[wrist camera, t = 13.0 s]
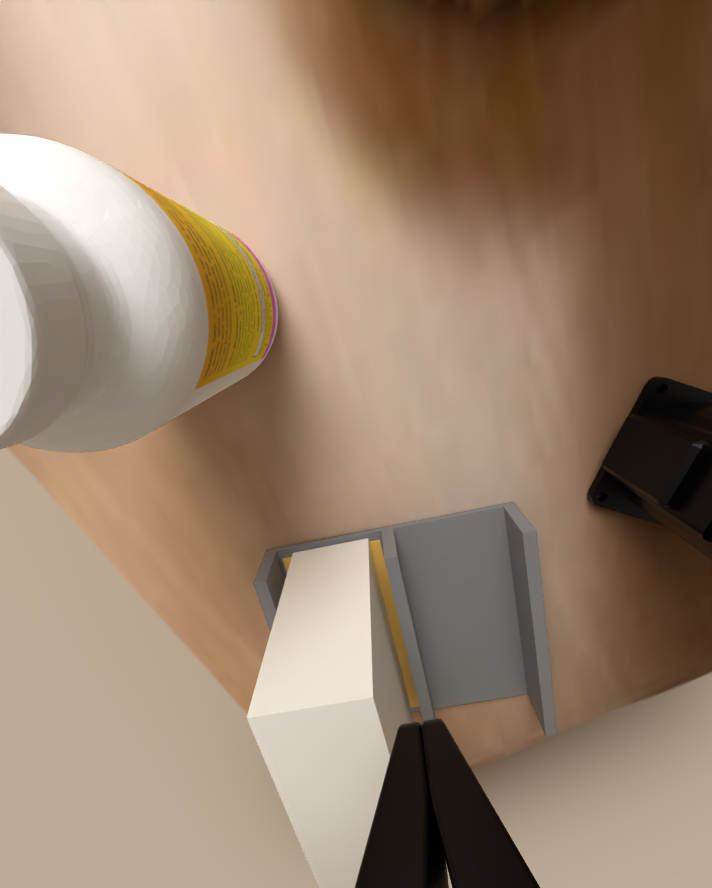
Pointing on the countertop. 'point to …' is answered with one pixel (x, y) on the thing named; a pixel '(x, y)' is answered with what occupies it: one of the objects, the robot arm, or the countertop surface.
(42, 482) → the countertop surface
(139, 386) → the supplement bottle
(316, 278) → the countertop surface
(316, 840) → the white rectangular box
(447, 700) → the slot rack
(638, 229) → the countertop surface
